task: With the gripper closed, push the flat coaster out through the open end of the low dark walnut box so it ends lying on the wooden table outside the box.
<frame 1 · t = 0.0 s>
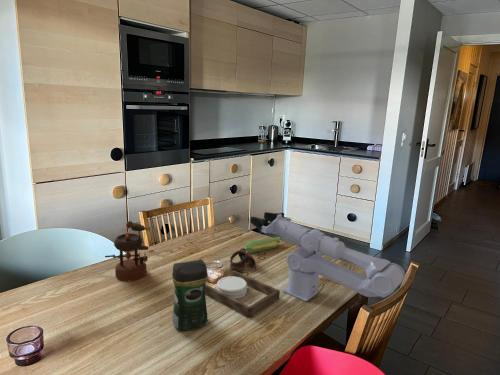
hand: (258, 217, 130), 22 cm above the table, tool horizontal, fingers open, 7 cm apart
edible corn: (264, 250, 157), on the table
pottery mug: (243, 268, 138), on the table
coffee jar: (189, 323, 103), on the table
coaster: (231, 292, 121), on the table
music box: (129, 274, 129), on the table
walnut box: (240, 296, 118), on the table
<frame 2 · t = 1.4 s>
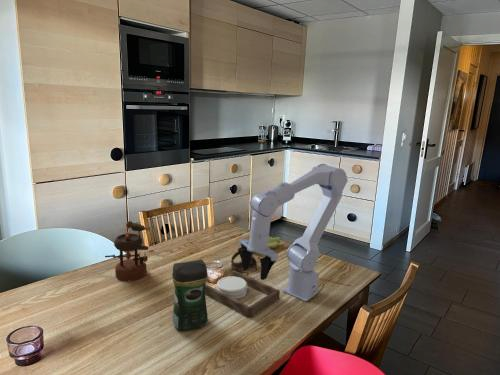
hand: (254, 274, 113), 10 cm above the table, tool pointing down, fingers open, 7 cm apart
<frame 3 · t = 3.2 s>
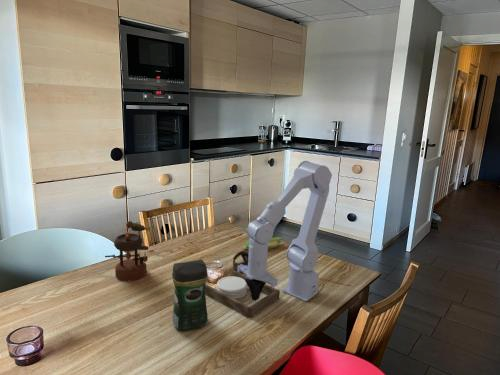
hand: (255, 299, 114), 1 cm above the table, tool pointing down, fingers closed
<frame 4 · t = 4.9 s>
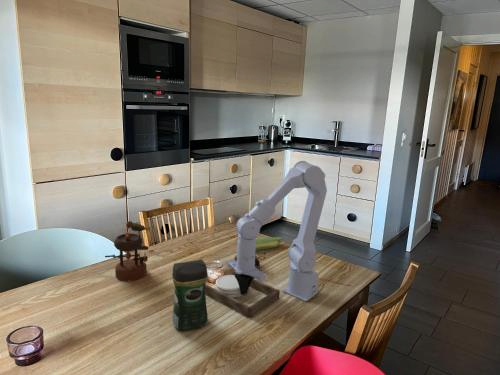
hand: (244, 293, 117), 1 cm above the table, tool pointing down, fingers closed
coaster: (230, 291, 121), on the table, touching gripper
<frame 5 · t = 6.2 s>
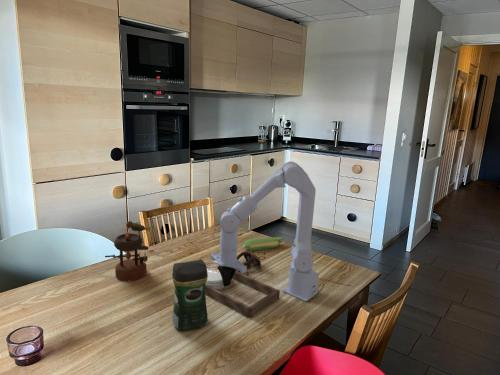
hand: (227, 285, 122), 1 cm above the table, tool pointing down, fingers closed
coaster: (214, 283, 126), on the table, touching gripper
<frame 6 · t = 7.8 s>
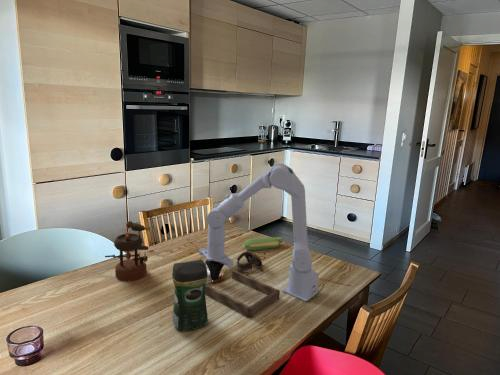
hand: (215, 279, 125), 1 cm above the table, tool pointing down, fingers closed
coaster: (202, 278, 129), on the table
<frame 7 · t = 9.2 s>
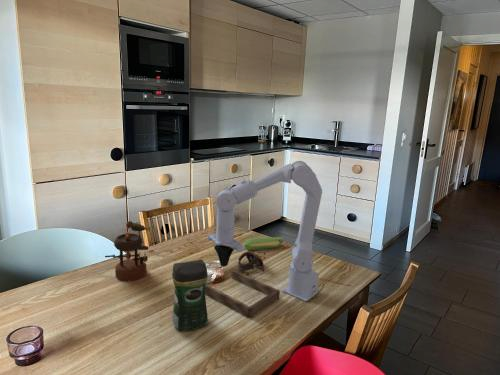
hand: (224, 265, 121), 8 cm above the table, tool pointing down, fingers closed
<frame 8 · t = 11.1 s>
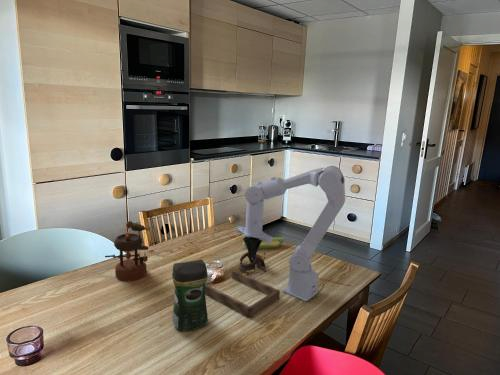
hand: (252, 256, 126), 9 cm above the table, tool pointing down, fingers closed
at the end: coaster inside the target area (0.2 cm from its centre), on the table; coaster tilted 0° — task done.
